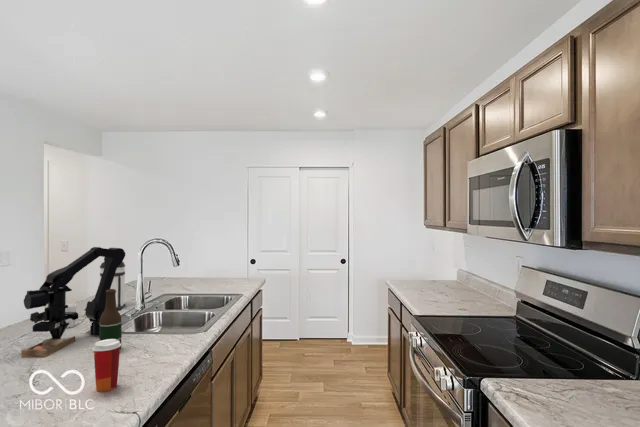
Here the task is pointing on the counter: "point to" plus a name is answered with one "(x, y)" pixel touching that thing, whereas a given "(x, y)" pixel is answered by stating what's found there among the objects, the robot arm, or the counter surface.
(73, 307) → the white cup
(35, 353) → the brown wooden tray
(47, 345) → the tan wooden brick
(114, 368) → the paper cup
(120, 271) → the coffee press
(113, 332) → the beer bottle
